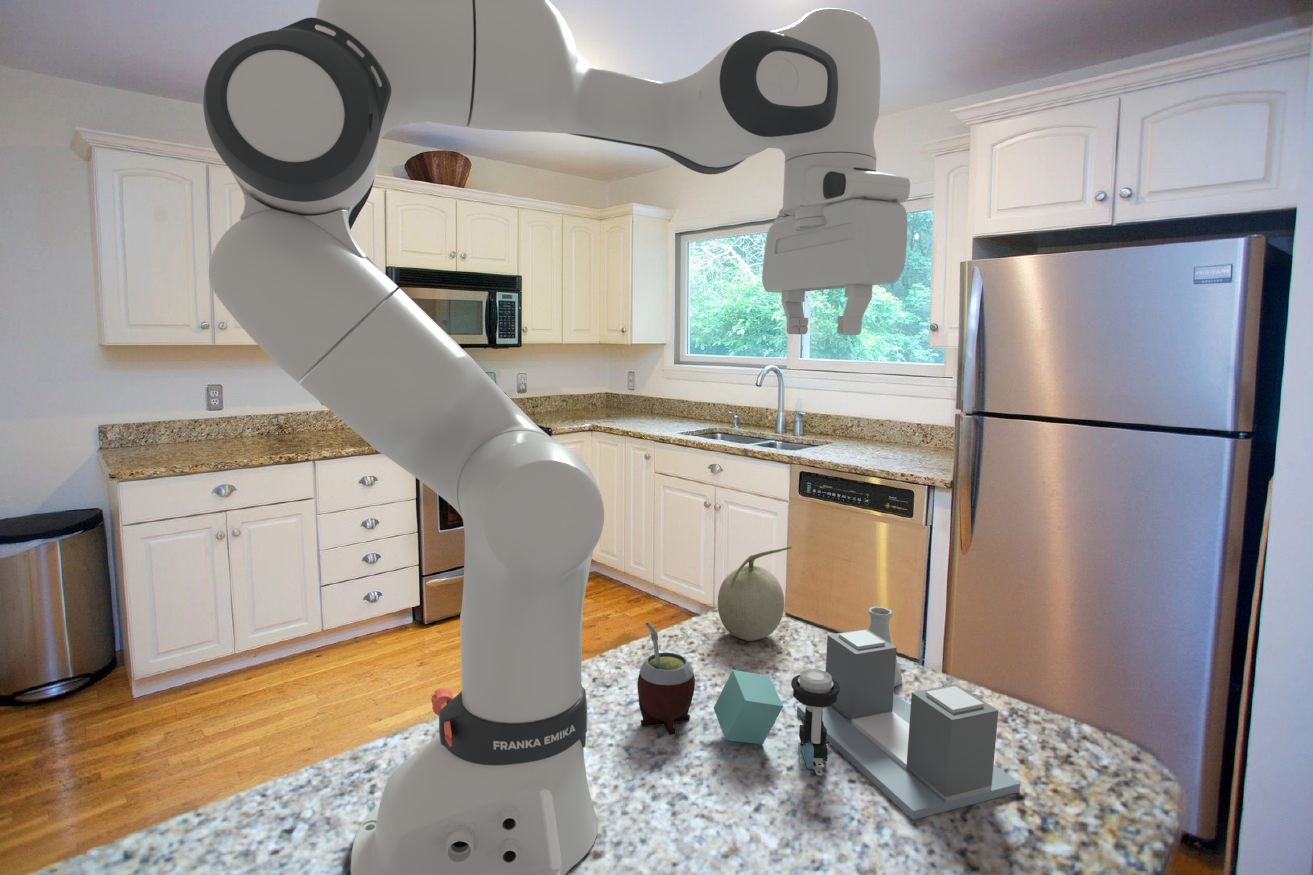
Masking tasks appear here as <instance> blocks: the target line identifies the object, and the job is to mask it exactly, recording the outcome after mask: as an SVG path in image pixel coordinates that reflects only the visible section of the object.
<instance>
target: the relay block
mask: <svg viewBox="0 0 1313 875" xmlns="http://www.w3.org/2000/svg"><path fill="white" fill-rule="evenodd" d="M783 708H784V705H783V703H782V700H781V699H780V696H779V694H778V692H777V690H776V688H775V686H774V684H773V681H772V679H771V677H770V676H769V675H767V674H760V673H755V672H754V673H753V672H749V671H748V672H747V671H742V670H736V669H732V670H731V672H730V674H729V676H728V678H727V681H726V683H725V684H724V687H723V688H722V690H721V692H720V694H719V695H718V698H717V699H716V702H715V704H714V706H713V709H714V713H715V715H716V718H717V721H718V723H719V727H720V729H721V732H722V736H723V738H724V740H725V741H731V742H732V741H733V742H738V743H739V742H740V743H748V744H756V745H760V746H761V745H763V744H764V743H765V741H766V739H767V738H768V735H769V733H770V732H771V730H772V728H773V726H774V724H775V723H776V721H777V719H778V718H779V715H780V713H781V712H782V710H783Z"/></svg>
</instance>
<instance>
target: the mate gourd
mask: <svg viewBox="0 0 1313 875" xmlns="http://www.w3.org/2000/svg"><path fill="white" fill-rule="evenodd" d="M644 625H645V626H646V627H647V628H648V629H649V631H650V637H651V641H652V642H653V643H652V644H653V651H654V654H651V655H649V656H648V657H647V658H646V659H645V660H644V661H643V663H642V664H641V666H640V669H639V674H638V677H637V682H636V683H637V687H636V688H637V695H638V706H639V711H640V713H641V717H642V719H641V720H640V725H641V727H650V726H657V725H658V726H659V725H661V726H662V725H663V726H664V728H665V730H666V733H667V734H668V736H675V735H676V732H677V731H676V729H675V727H674V725H675V723H680V722H688V721H690V718H691V715H690V714H689V711H690V708H691V705H692V701H693V697H694V693H695V686H696V679H695V674H694V668H693V666H692V665H691V664H690V662H689V661H688V659H687V658H686V657H685V656H683V655H681V654H678V653H674V652H664V651H663V652H659V651H660V649H659V645H658V644H659V643H658V640H659V636H658V631H656V629H655V626H653V625H652V624H650V622H645V623H644Z"/></svg>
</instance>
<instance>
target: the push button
mask: <svg viewBox="0 0 1313 875" xmlns="http://www.w3.org/2000/svg"><path fill="white" fill-rule="evenodd" d="M790 686H791V688H792V690H793V691H792V697H794V698H795V699H796V700H797V701H798V703H800V704H801V705H805V706H807V707H806V709H805V716H804V717H803V718H802V724H800V725H799V729H798V730H799V731H798V737H799V740H800V741H799V742H798V743H797V744H798V745H797V756H798V760H800V759H801V753H802V755H803V759H804V761H805V764H806V767H807V770H814V772H815V774H816V775H817V776H824V775H825V774H824V771H823V770H824V768H825V764H824V763H825V762H828V754H829V749H828V745H827V740H826V737H827V729H826V727H825V726H824V723H823V721H822V715H823V709H824V708H826V707H829V706H831V705H832V704H833V703H835V702H836V701H837V695H838V694H839V691H840V686H839V684H838V683H837V682H836V681H835V680H833V679H832V676H831V675H830V674H829V673H827V672H826V670H822V669H817V668H808V669H803V670H802V671H800V673H799V674H798V675H795V676H794V677H793V678H792V679H791V685H790Z"/></svg>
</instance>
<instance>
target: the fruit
mask: <svg viewBox="0 0 1313 875" xmlns="http://www.w3.org/2000/svg"><path fill="white" fill-rule="evenodd" d="M790 549H792V546H787V547H783V548H779V549H773V550H769V551H764V552H763V551H762V552H759V553H755V554H753V555H749V556H748V557H747V558H746V559H745V560H744V561H743V562H742V563H741V565H740V566H739V567H738V568H736V569H735V570H733V571H731V572H730V573H729V574H728V575H726V576H725V577H724V579H723V581H722V583H721V585H720V588H719V590H718V595H717V611H718V616H719V618H720V621H721V624H722V626H724V629H725V630H726V631H727V632H728V633H729V634H730V635H732V636H734V637H736V638H738V639H741V640H743V641H747V642H748V641H749V642H752V641H759V640H762V639H765V638H767V637H768V636H770V635H771V634H773V633H774V632H775V631H776V629H777V628H778V627H779V625H780V623H781V621H782V618H783V615H784V611H785V596H784V591H783V587H782V585H781V583H780V581H779V580H778V578H777V577H776V576H775V575H774V574H773V573H772V572H770V571H769V570H767V569H766V568H763V567H760V566H757V565H754V562H755V560H756V559H759V558H762V557H764V556H767V555H772V554H776V553H780V552H783V551H786V550H790ZM747 564H748V565H747Z"/></svg>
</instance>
